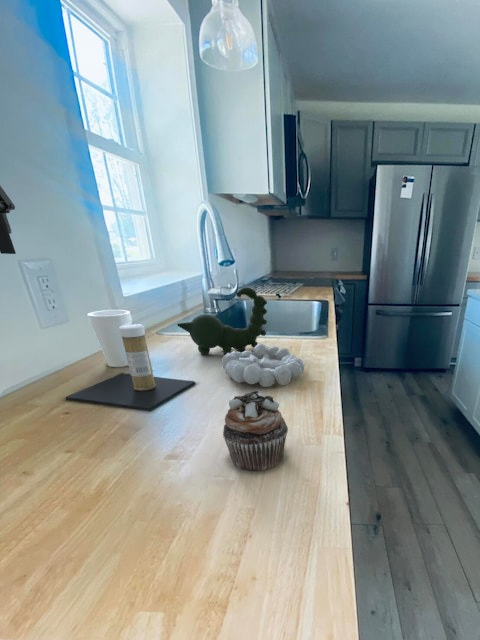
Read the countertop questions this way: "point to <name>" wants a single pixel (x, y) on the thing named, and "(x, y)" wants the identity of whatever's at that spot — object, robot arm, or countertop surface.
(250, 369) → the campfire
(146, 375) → the sprinkles bottle
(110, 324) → the foam cup
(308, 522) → the countertop surface
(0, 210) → the robot arm
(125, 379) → the corner mat
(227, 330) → the toy figurine
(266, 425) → the cupcake
